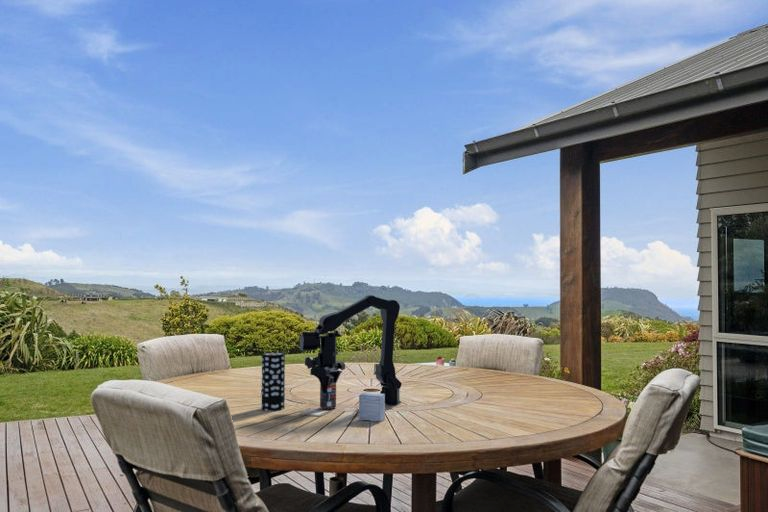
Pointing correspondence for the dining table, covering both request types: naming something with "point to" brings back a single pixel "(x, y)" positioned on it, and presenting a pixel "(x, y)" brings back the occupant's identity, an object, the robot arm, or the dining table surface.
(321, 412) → the coaster
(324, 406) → the supplement bottle
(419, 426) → the dining table surface
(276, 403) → the spotted tube
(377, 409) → the medicine box
